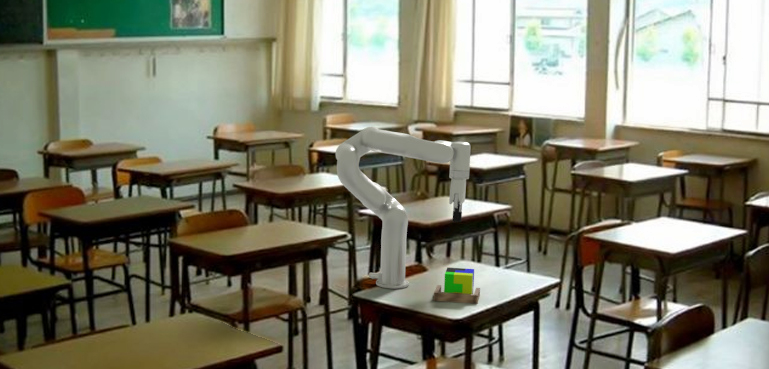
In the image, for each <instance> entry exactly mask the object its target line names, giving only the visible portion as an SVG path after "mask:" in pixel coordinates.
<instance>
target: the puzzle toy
mask: <svg viewBox="0 0 769 369" xmlns="http://www.w3.org/2000/svg"><path fill="white" fill-rule="evenodd" d="M443 282H444V283H443V284H444V285H443V286H444V288H443V292H448V293H463V294H474V286H475V285H474V284H475V283H474V282H475V269H474V268H463V267H462V268H461V267H460V268H459V267H447V268H446V270H445V271H444V281H443Z"/></svg>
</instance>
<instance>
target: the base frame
mask: <svg viewBox="0 0 769 369" xmlns="http://www.w3.org/2000/svg"><path fill="white" fill-rule="evenodd" d="M480 296H481V287H475V290H474V292H473V294H463V293H448V292H444V291H443V292H442V285H441V284H437V285H436V287H435V289H434V292H433V301H435V302H449V303H464V304H479V299H480Z"/></svg>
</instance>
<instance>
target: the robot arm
mask: <svg viewBox="0 0 769 369" xmlns="http://www.w3.org/2000/svg"><path fill="white" fill-rule="evenodd" d="M369 152H375V153H376V152H377V153H383V154H388V155H394V156H399V157H406V158H411V159H415V160H421V161H425V162H431V163H437V164H438V163H439V164H446V163H449V176H448V177H449V179H451V181H450V187H449V197H448V198H449V201H448V203H449V205H452V204H453V205H452V206H453V208H452V209H453V210H452V222H453V223H461V222H462V216H463V212H462V211H463V204H464V203H465V200H466V189H467V188H466V187H467V180H469V179H470V168H471V165H470V164H471V144H470V143H469V142H467V141H447V140H441V139H440V140H439V139H438V140H435V141H431V140H428V139H427V140H426V139H422V138H419V137H416V136H414V135H411V134H408V133H404V132H403V133H402V132H396V131H390V130H385V129H380V128H378V127H376V126H367V127H366V128H364V129H362V130H360V131H359V132H357V133H356V134H354V135H353V136H351V137H349V138H348V139H346V140H345V141H344V142H342V143H340V144H339V145H338V146H337V148H336V150H335V159H336V160H337V161H336V174H337V178H338V180H339V182H340V183H341V185H342V186H344V187H345V189H347V191H348V192H350V193H351V194H352V195H353V196H354V197H355V198H356V199H357V200H359V201H360V203H361V204H362V205H363V206H364V207H365V208H367V209H368V210H370V211H371V212H372V213H373V214H375V215H376V216H377V217H378V218H379V219H380V220H381V221H382V227H381V236H380V237H381V239H380V245H381V246H380V247H381V248H380V272H377V273H375V272H369V275H368V277H369V278H370V279H371V280H376V281H375V285H376V286H377V287H380V288H384V289H391V290H392V289H393V290H394V289H395V290H396V289H398V290H399V289H405V288H407V287H409V285H410V282H409V280H407V279H406V263H407V262H406V261H407V259H406V258H407V234H408V233H407V232H408V227H409V226H408V225H409V216H408V215H409V214H408V212H407V210H406V208H405V207H404V206H403V205H402V204H401V203H400V202H399V201H398V200H397V199H396V198H395V197H393V195H391V194H390V193H389V192H388V191H387V190H386V189H384V188H383V187H382V186H381V185H380V184H379V183H377V182H374V181H372V180H371V179H370V178H369V177H368V176H367V175H366V174H365V173H364V172H363V171H362V170H361V169H360V166H359V164H360V160H361V157H363V156H364V155H365V154H368V153H369Z"/></svg>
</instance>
